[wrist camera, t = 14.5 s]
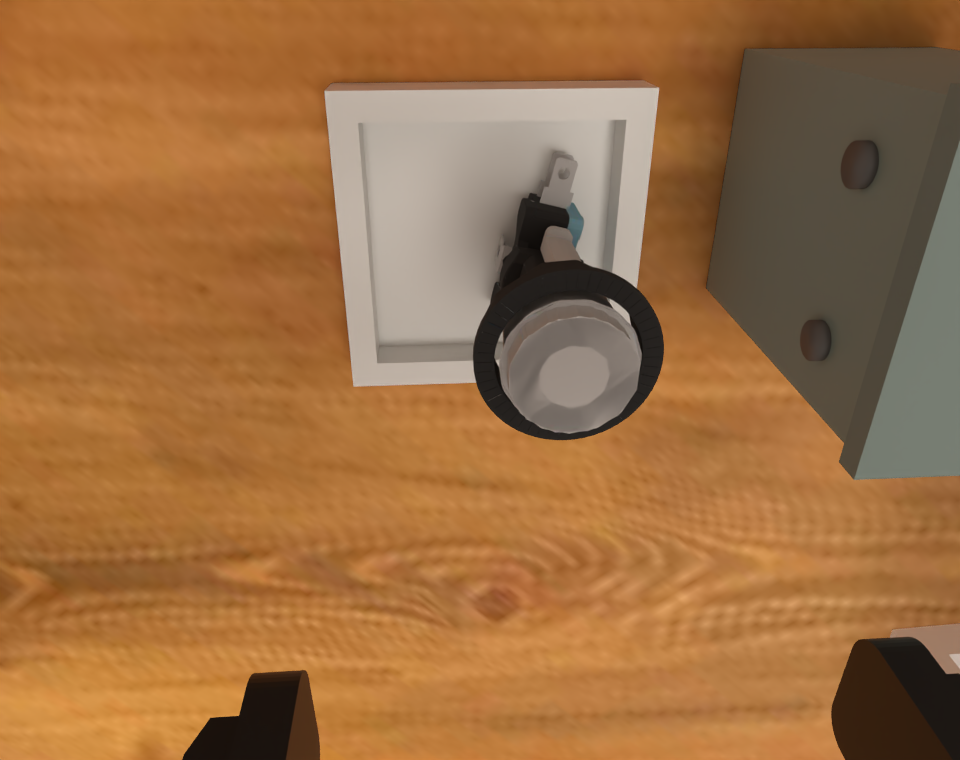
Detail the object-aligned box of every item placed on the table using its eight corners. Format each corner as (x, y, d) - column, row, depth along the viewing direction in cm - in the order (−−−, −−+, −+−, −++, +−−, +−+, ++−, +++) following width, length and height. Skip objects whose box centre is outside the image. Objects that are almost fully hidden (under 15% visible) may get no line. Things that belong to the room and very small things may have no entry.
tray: (357, 363, 30) (353, 386, 29) (331, 82, 25) (324, 90, 23) (615, 355, 31) (626, 377, 29) (643, 80, 26) (659, 87, 24)
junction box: (697, 295, 30) (853, 479, 19) (737, 39, 25) (976, 87, 14) (875, 290, 30) (1129, 468, 19) (947, 37, 26) (1335, 84, 15)
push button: (493, 133, 26) (516, 211, 17) (633, 167, 27) (724, 259, 18) (452, 302, 29) (454, 441, 20) (579, 328, 30) (634, 473, 21)
